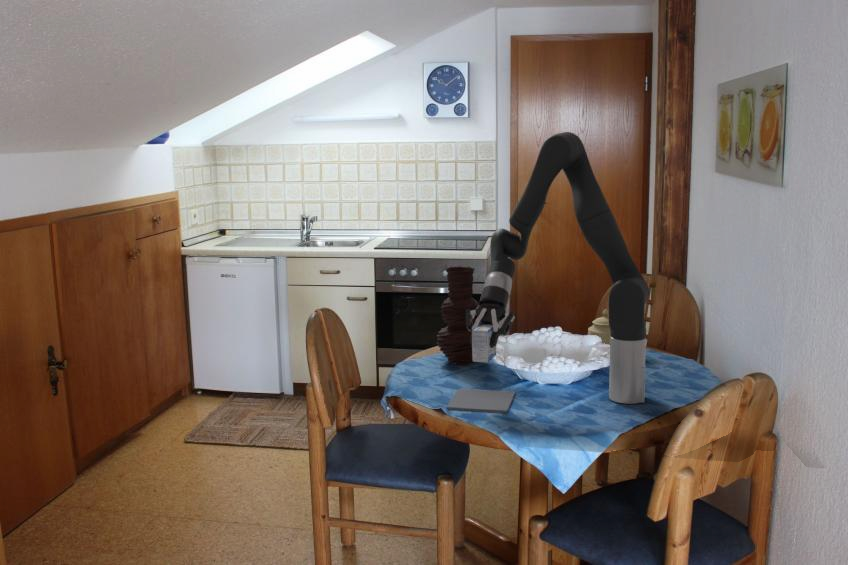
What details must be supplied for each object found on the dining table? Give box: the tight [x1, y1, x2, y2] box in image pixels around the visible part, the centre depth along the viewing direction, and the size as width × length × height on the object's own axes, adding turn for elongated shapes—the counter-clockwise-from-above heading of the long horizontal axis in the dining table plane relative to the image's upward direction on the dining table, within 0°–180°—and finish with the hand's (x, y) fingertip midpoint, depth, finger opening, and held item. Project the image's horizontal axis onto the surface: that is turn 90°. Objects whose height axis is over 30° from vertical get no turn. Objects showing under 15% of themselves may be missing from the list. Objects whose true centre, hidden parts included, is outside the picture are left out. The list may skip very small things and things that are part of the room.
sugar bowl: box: [587, 308, 610, 345], centre depth 263 cm, size 15×11×15 cm
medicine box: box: [472, 324, 497, 364], centre depth 217 cm, size 8×4×9 cm, turn 159°
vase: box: [436, 265, 479, 366], centre depth 256 cm, size 15×15×30 cm
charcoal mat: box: [446, 388, 516, 414], centre depth 220 cm, size 16×16×1 cm
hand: (482, 345), depth 215 cm, fingers closed on medicine box, 4 cm apart
